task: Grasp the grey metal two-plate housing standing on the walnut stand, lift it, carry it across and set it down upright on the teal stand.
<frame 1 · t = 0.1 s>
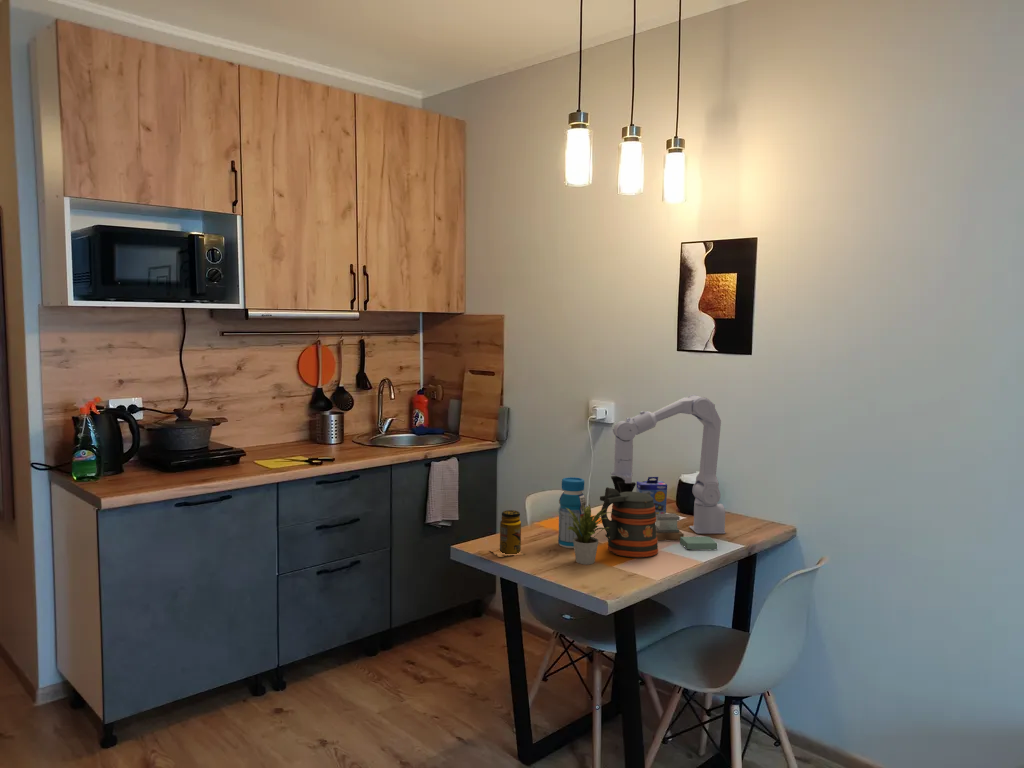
hand: (622, 501, 238), 10 cm above the table, tool pointing down, fingers open, 7 cm apart
stand a: (665, 537, 233), on the table
beverage bottle: (571, 545, 224), on the table
house plant: (588, 563, 207), on the table
condiment: (507, 553, 215), on the table
housing: (666, 531, 233), point 2 cm above the table, touching stand a
beer stein: (627, 553, 217), on the table
stand b: (698, 546, 224), on the table
ink cartridge box: (650, 517, 258), on the table
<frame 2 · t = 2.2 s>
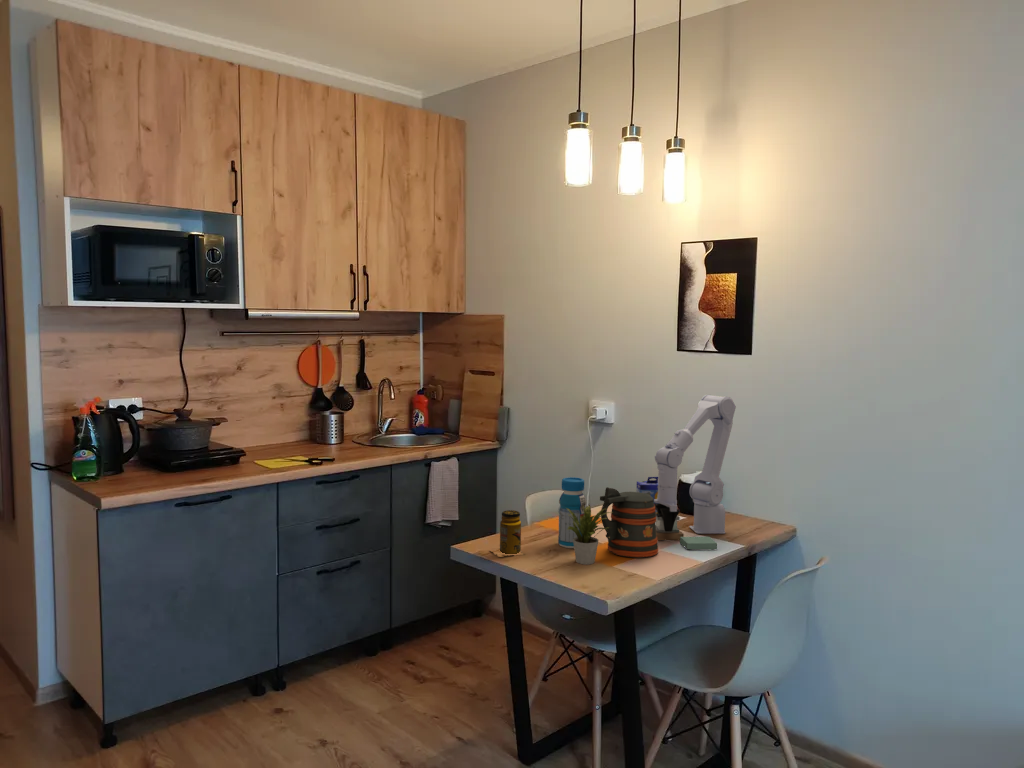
hand: (666, 528, 233), 3 cm above the table, tool pointing down, fingers closed on housing, 4 cm apart
housing: (666, 531, 233), point 2 cm above the table, touching gripper, stand a
everything else where it was.
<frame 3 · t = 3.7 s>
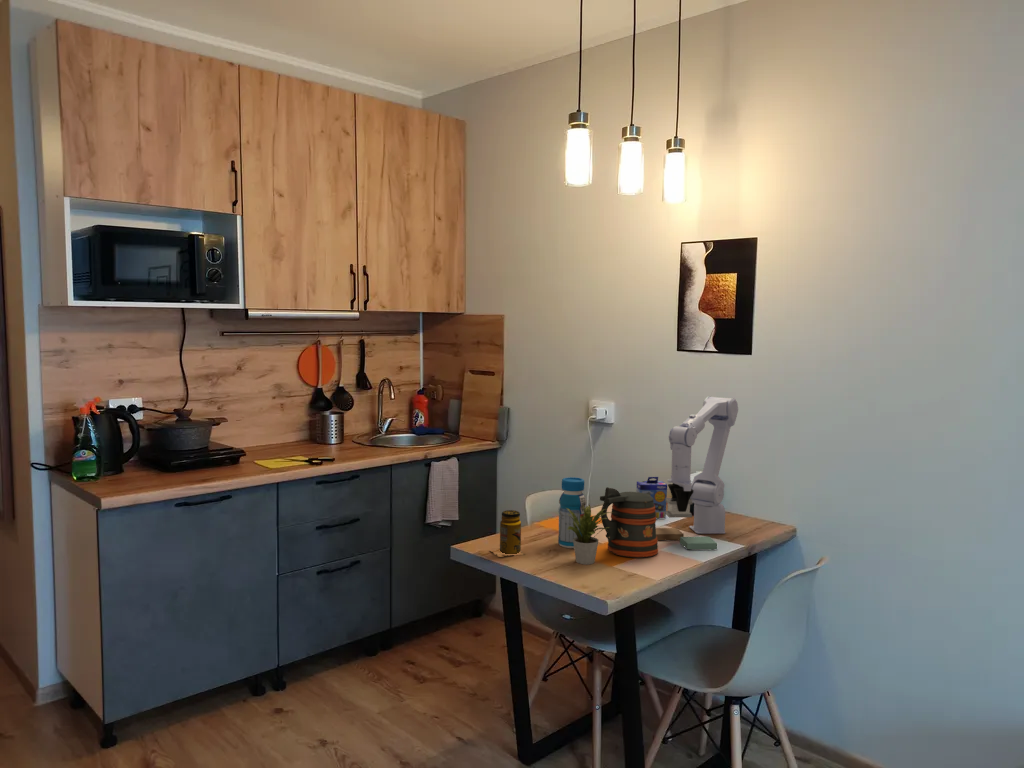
hand: (679, 509, 229), 10 cm above the table, tool pointing down, fingers closed on housing, 4 cm apart
housing: (678, 515, 229), point 8 cm above the table, touching gripper
everything else where it was.
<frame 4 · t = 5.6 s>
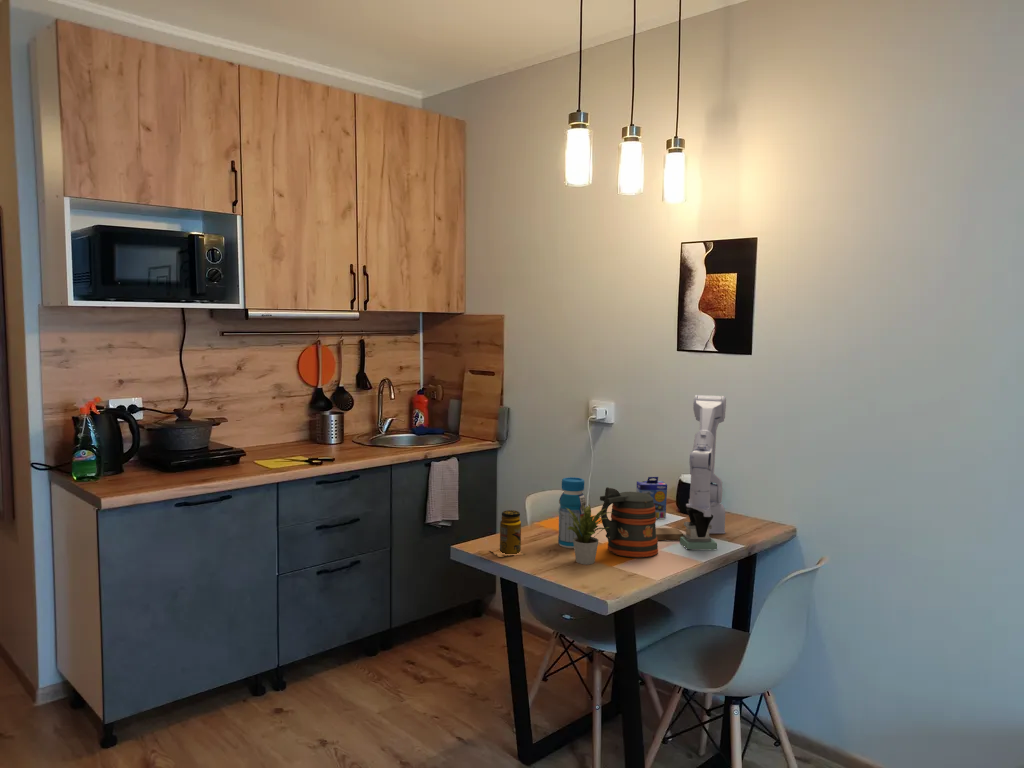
hand: (698, 534, 224), 4 cm above the table, tool pointing down, fingers closed on housing, 4 cm apart
housing: (697, 540, 224), point 2 cm above the table, touching gripper, stand b
everything else where it was.
when the fingers open (4 cm above the table, at t = 5.8 s): housing stays where it is, resting on stand b.
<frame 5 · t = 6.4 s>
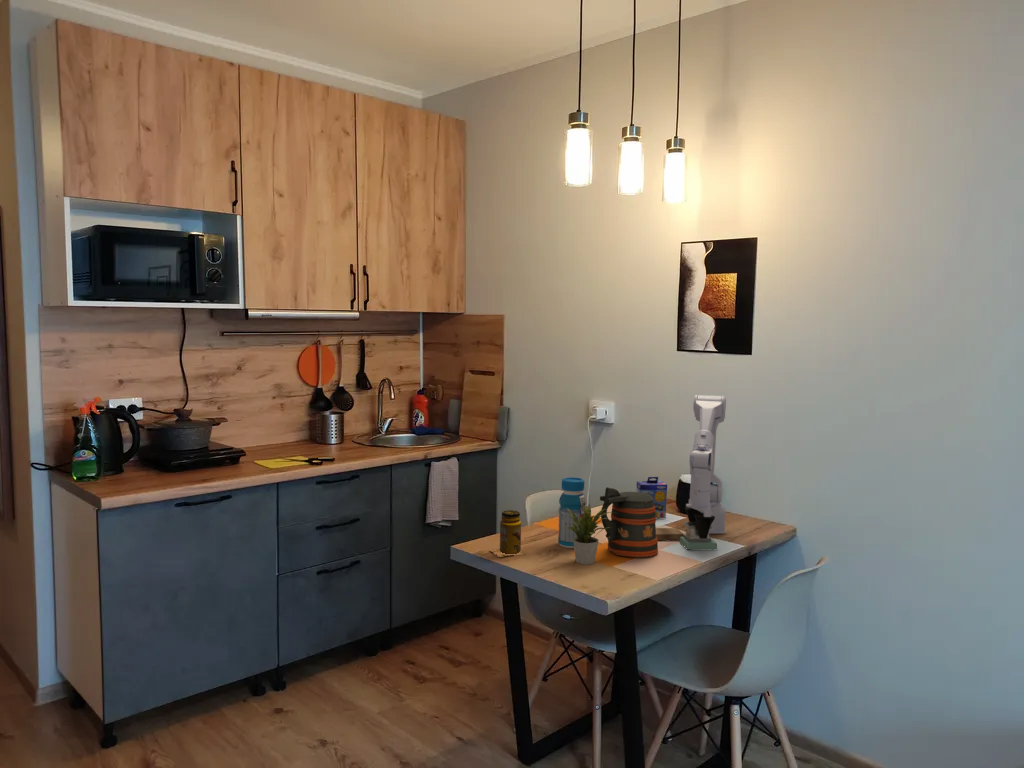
hand: (698, 534, 224), 4 cm above the table, tool pointing down, fingers open, 7 cm apart
housing: (697, 540, 224), point 2 cm above the table, touching stand b
everything else where it was.
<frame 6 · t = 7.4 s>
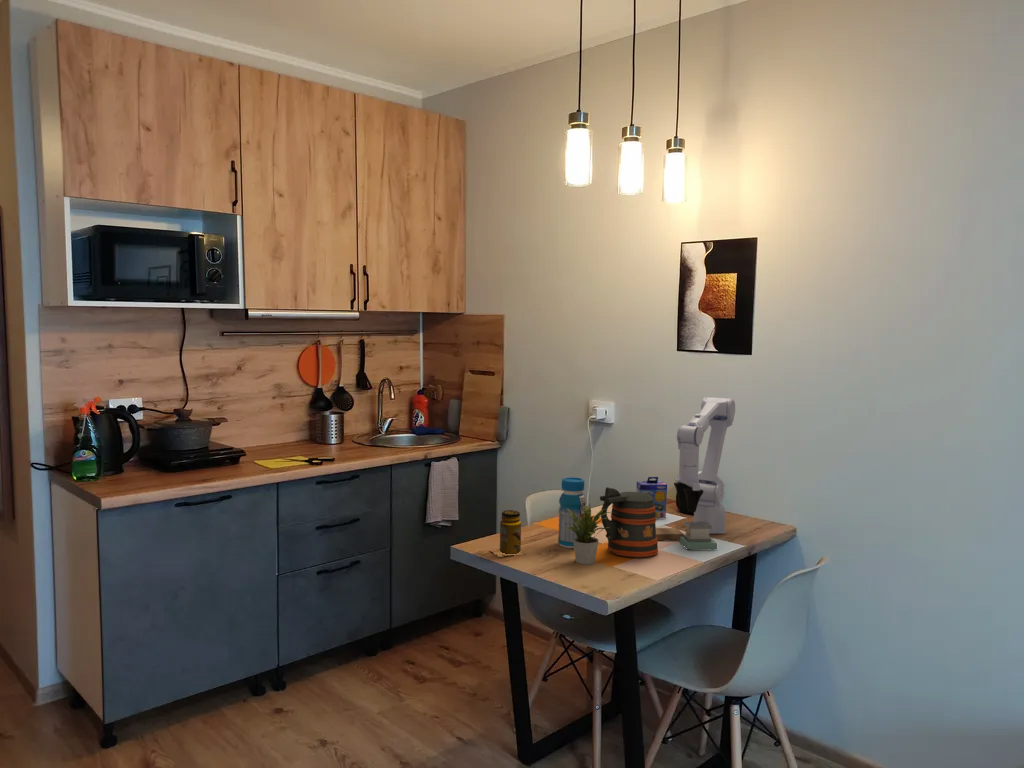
hand: (687, 508, 228), 10 cm above the table, tool pointing down, fingers open, 7 cm apart
nothing on the table moved.
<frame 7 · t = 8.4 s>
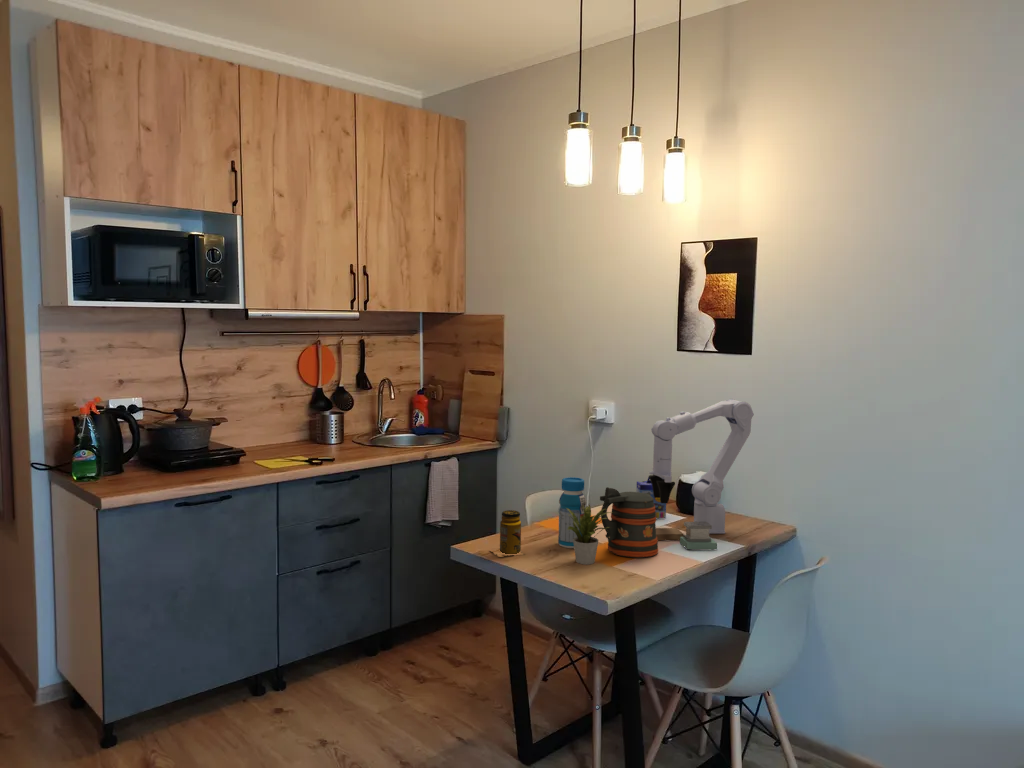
hand: (660, 500, 238), 10 cm above the table, tool pointing down, fingers open, 7 cm apart
nothing on the table moved.
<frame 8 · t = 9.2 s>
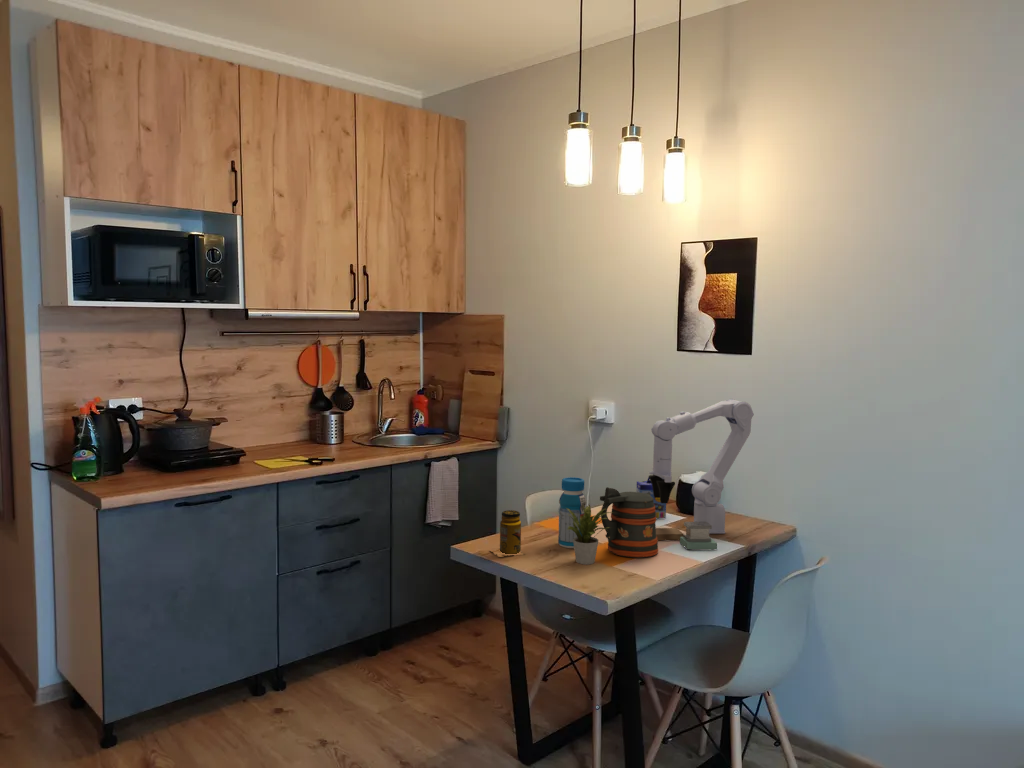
hand: (660, 500, 238), 10 cm above the table, tool pointing down, fingers open, 7 cm apart
nothing on the table moved.
at the end: housing 0.4 cm off-centre on the stand b, point 2.0 cm above the stand b's base; housing tilted 0°; the gripper is holding nothing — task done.
